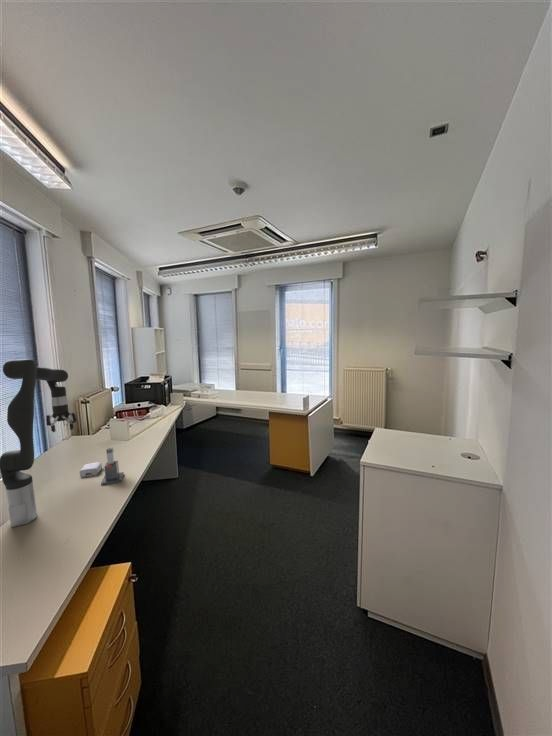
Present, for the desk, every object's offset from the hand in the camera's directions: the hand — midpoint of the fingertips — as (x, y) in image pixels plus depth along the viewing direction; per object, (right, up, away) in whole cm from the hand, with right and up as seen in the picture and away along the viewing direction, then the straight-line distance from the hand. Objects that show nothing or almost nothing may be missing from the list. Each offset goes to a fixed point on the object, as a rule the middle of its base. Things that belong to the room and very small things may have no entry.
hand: (63, 430), depth 170 cm
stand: (+31, -28, -2) cm, 42 cm away
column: (+31, -26, -2) cm, 40 cm away
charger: (+11, -28, +11) cm, 32 cm away
